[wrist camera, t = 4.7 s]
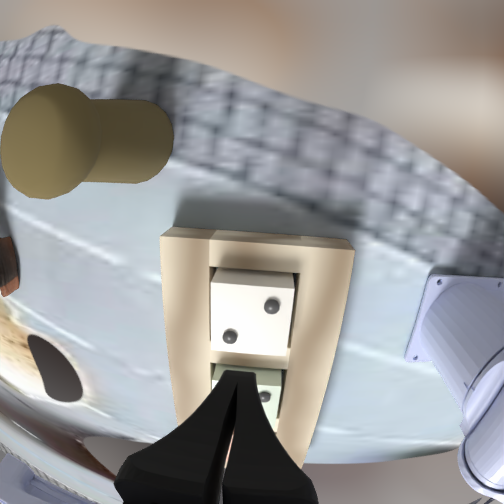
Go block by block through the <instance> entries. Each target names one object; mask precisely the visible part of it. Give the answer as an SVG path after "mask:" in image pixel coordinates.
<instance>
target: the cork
mask: <svg viewBox="0 0 504 504" xmlns="http://www.w3.org/2000/svg"><path fill="white" fill-rule="evenodd" d="M173 140H174V135H173V129H172V124H171V122H170V120H169V118H168V116H167V115H166V113H165V112H164V111H163V110H162V109H161V108H160V107H159V106H157V105H156V104H154V103H151V102H148V101H146V100H121V99H89V98H88V97H87V96H86V95H85V94H84V93H83V92H81V91H80V90H79V89H77V88H74V87H70V86H67V85H63V84H60V83H57V84H51V85H45V86H39V87H37V88H35V89H34V90H32V91H30V92H29V93H27V94H26V95H24V96H23V97H22V98H20V100H19V101H18V102H17V103H16V104H15V105H14V107H13V108H12V109H11V111H10V113H9V115H8V117H7V119H6V121H5V124H4V128H3V131H2V135H1V146H0V154H1V162H2V167H3V169H4V172H5V175H6V177H7V179H8V180H9V182H10V183H11V184H12V186H13V187H14V188H15V189H17V190H18V191H19V192H21V193H23V194H24V195H26V196H28V197H29V198H39V199H52V198H55V197H58V196H61V195H64V194H66V193H69V192H70V191H72V190H73V189H74V188H75V187H77V186H78V185H79V184H80V183H81V182H108V183H132V184H136V183H140V182H144V181H148V180H149V179H151V178H152V177H154V176H155V175H157V174H158V173H159V172H160V171H161V170H162V168H163V167H164V166H165V165H166V164H167V162H168V159H169V157H170V154H171V152H172V148H173Z"/></svg>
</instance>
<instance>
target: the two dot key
mask: <svg viewBox="0 0 504 504" xmlns="http://www.w3.org/2000/svg"><path fill="white" fill-rule="evenodd" d="M294 290H295V288H294V280H293V273H292V272H278V271H264V270H251V269H238V268H226V267H218V269H217V271H216V273H215V275H214V277H213V279H212V281H211V350H217V351H227V352H237V353H247V354H259V355H273V356H286V352H287V345H288V337H289V330H290V322H291V314H292V306H293V298H294Z"/></svg>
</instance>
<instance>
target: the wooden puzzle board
mask: <svg viewBox="0 0 504 504" xmlns="http://www.w3.org/2000/svg"><path fill="white" fill-rule="evenodd" d="M354 255H355V250H354V248H353V247H352V246H351V244H350V243H349V242H348V241H347V239H336V238H324V237H312V236H299V235H286V234H273V233H259V232H245V231H230V230H215V229H199V228H183V227H171V228H170V229H169V230H167V231H166V232H165V233H163V234H162V235H161V236H160V259H161V279H162V294H163V308H164V320H165V331H166V341H167V350H168V359H169V367H170V375H171V383H172V390H173V397H174V404H175V410H176V417H177V423H178V426H179V425H180V424H182V423H183V422H184V421H185V420H186V419H187V418H188V417H189V416H190V415H191V414H192V413H193V412H194V411H195V410H196V409H197V408H198V407H199V406H200V405H201V403H202V402H203V401H204V400H205V399H206V397H207V396H208V395H209V394H210V392H211V391H212V378H213V375H214V371H215V367H216V363H220V364H229V365H238V366H249V367H261V368H275V369H284V373H283V379H282V386H281V392H280V399H279V405H278V411H277V417H276V423H275V429H273V428H272V429H273V431H274V432H275V434H276V436H277V438H278V439H279V441H280V443H281V444H282V446H283V447H284V449H285V450H286V451H287V453H288V454H289V456H290V457H291V458H292V460H293V461H294V462H295V463H296V464H297V466H298V467H299V468H300V469H301V468H302V465H303V463H304V460H305V457H306V454H307V451H308V448H309V445H310V442H311V438H312V435H313V432H314V429H315V426H316V422H317V419H318V416H319V412H320V409H321V405H322V402H323V398H324V395H325V391H326V387H327V383H328V380H329V376H330V372H331V368H332V364H333V360H334V356H335V352H336V347H337V343H338V339H339V334H340V329H341V325H342V320H343V315H344V310H345V305H346V300H347V295H348V290H349V284H350V279H351V273H352V267H353V261H354ZM216 267H226V268H238V269H251V270H264V271H278V272H292V273H296V281H295V290H294V298H293V306H292V314H291V322H290V330H289V337H288V345H287V352H286V356H273V355H259V354H247V353H237V352H227V351H217V350H211V281H212V279H213V277H214V275H215V273H216ZM226 466H227V461H226V462H225V467H224V468H226Z"/></svg>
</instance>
